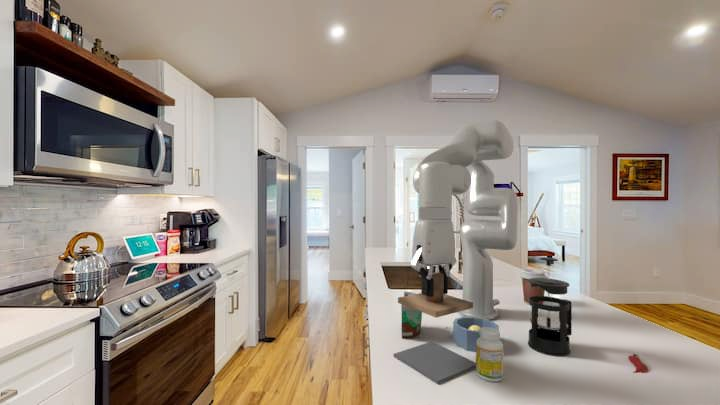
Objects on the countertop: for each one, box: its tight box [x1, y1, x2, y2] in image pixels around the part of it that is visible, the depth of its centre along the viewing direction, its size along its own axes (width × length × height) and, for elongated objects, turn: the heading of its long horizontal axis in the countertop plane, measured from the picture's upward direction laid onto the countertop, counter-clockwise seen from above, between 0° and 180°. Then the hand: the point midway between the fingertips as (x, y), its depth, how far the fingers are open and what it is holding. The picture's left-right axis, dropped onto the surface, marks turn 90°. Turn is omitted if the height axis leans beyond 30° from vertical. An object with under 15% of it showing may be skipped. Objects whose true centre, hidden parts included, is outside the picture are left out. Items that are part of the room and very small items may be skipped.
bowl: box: [452, 316, 500, 353], centre depth 83 cm, size 11×11×5 cm
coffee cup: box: [519, 268, 548, 306], centre depth 118 cm, size 9×9×12 cm
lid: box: [397, 271, 473, 318], centre depth 73 cm, size 12×12×7 cm
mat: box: [393, 341, 476, 385], centre depth 73 cm, size 13×14×1 cm
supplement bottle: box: [475, 327, 504, 383], centre depth 67 cm, size 5×5×10 cm
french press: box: [527, 256, 573, 357], centre depth 81 cm, size 12×9×23 cm
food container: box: [400, 291, 423, 340], centre depth 90 cm, size 12×6×10 cm, turn 168°
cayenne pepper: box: [627, 353, 649, 374], centre depth 73 cm, size 12×5×2 cm, turn 127°
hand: (434, 293), depth 73 cm, fingers closed on lid, 4 cm apart
